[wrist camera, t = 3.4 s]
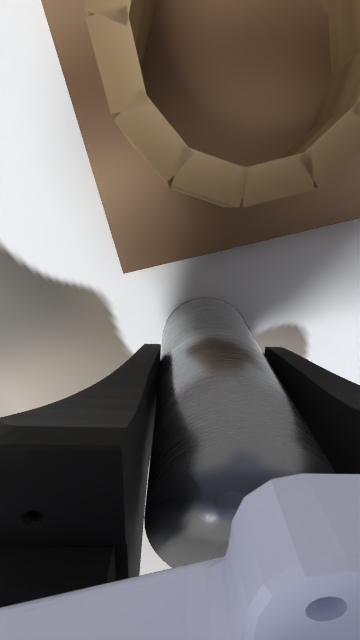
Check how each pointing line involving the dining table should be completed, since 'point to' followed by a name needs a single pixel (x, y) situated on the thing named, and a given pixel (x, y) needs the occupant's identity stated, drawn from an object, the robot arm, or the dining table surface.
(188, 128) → the socket block
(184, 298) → the dining table surface
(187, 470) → the steel pin
